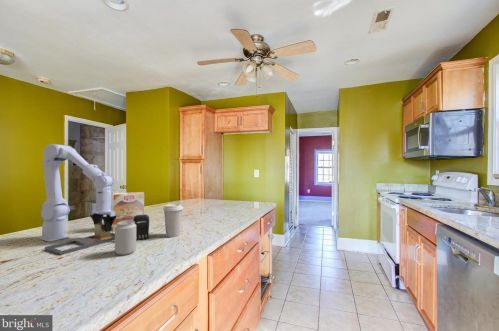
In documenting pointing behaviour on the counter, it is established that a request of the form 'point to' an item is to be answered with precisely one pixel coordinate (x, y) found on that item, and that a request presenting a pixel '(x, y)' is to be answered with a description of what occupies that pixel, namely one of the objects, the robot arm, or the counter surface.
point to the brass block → (101, 232)
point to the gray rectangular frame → (84, 242)
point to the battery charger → (141, 226)
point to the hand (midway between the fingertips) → (103, 230)
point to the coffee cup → (173, 219)
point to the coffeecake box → (127, 206)
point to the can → (125, 237)
